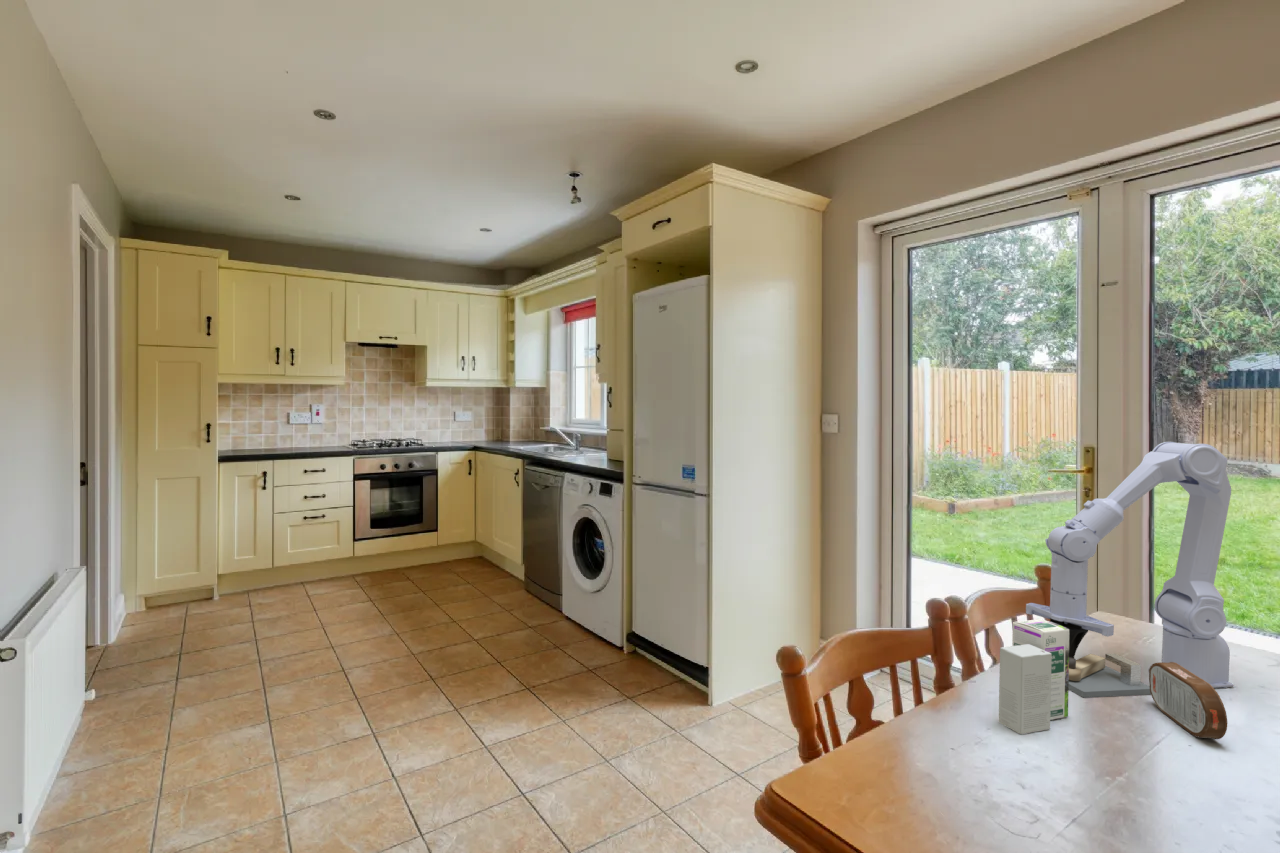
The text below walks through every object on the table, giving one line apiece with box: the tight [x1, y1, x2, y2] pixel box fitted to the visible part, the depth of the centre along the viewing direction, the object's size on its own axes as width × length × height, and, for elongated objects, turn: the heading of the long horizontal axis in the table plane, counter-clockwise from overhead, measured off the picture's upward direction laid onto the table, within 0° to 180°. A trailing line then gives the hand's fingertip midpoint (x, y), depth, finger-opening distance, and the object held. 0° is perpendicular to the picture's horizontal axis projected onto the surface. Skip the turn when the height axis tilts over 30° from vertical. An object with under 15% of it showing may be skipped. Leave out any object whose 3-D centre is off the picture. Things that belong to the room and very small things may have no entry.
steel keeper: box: [1104, 653, 1142, 686], centre depth 113 cm, size 2×5×4 cm, turn 7°
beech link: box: [1069, 653, 1106, 681], centre depth 115 cm, size 12×3×3 cm, turn 123°
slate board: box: [1068, 665, 1152, 699], centre depth 114 cm, size 14×11×1 cm
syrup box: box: [1011, 618, 1069, 721], centre depth 102 cm, size 6×6×14 cm
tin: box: [1148, 661, 1228, 740], centre depth 99 cm, size 15×3×8 cm, turn 168°
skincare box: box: [998, 644, 1052, 735], centre depth 97 cm, size 6×4×12 cm
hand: (1066, 661), depth 119 cm, fingers closed
